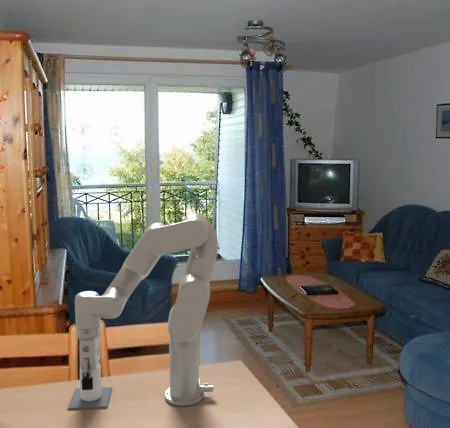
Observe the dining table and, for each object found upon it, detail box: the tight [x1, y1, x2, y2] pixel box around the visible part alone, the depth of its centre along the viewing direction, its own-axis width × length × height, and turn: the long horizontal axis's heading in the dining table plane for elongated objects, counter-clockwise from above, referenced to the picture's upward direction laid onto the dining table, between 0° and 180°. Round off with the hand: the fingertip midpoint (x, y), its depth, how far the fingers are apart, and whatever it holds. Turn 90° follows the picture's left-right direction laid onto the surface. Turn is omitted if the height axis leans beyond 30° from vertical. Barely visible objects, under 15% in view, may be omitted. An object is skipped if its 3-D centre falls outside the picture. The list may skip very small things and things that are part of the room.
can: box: [79, 361, 102, 402], centre depth 155 cm, size 6×6×12 cm
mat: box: [67, 386, 113, 411], centre depth 156 cm, size 12×12×1 cm
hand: (90, 381), depth 156 cm, fingers open, 9 cm apart
